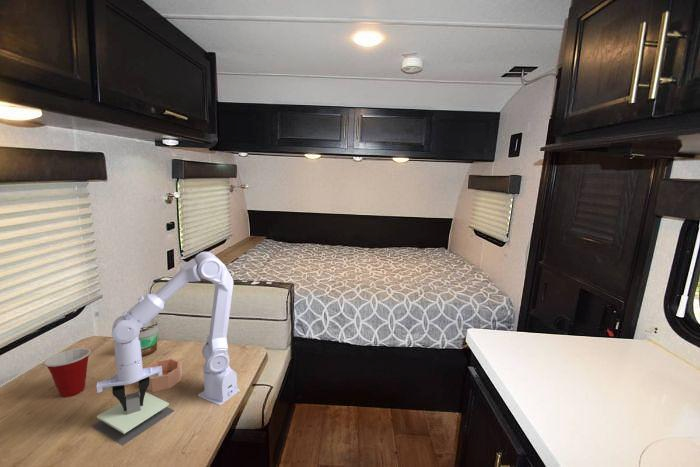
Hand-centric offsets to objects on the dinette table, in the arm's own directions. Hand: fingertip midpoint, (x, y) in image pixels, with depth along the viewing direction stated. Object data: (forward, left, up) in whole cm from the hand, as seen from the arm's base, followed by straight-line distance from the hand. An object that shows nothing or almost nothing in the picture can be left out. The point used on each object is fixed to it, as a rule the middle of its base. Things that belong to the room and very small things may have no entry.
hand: (133, 406), depth 89 cm
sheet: (0, 0, -2) cm, 2 cm away
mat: (0, 0, -4) cm, 4 cm away
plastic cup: (+29, +2, -4) cm, 29 cm away
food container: (+31, -22, -4) cm, 39 cm away
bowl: (+9, -14, -4) cm, 17 cm away
